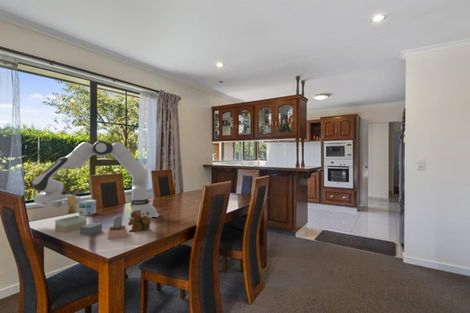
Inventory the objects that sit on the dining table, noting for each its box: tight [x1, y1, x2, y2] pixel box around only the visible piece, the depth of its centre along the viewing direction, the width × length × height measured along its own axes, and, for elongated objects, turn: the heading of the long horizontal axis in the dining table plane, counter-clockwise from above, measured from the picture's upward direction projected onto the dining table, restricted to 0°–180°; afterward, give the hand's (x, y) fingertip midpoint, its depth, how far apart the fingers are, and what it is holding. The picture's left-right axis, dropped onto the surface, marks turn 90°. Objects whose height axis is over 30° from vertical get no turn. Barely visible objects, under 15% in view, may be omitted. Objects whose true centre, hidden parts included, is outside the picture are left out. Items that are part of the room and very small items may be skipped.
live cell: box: [66, 193, 77, 214], centre depth 156 cm, size 4×4×12 cm
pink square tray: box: [107, 224, 128, 240], centre depth 144 cm, size 10×10×5 cm
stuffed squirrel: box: [127, 210, 151, 233], centre depth 156 cm, size 10×14×13 cm
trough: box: [54, 215, 87, 234], centre depth 156 cm, size 14×9×7 cm, turn 164°
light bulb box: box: [78, 199, 97, 217], centre depth 195 cm, size 11×7×11 cm, turn 168°
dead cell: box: [112, 215, 123, 231], centre depth 144 cm, size 4×4×12 cm
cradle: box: [79, 222, 103, 236], centre depth 148 cm, size 9×7×5 cm
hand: (72, 202), depth 155 cm, fingers closed on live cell, 4 cm apart
